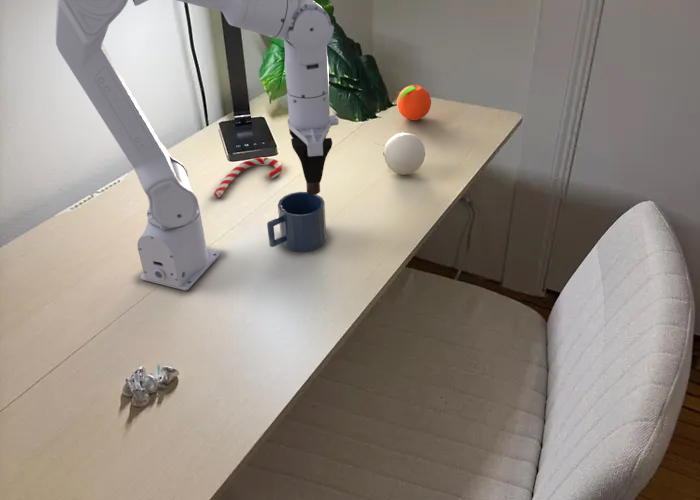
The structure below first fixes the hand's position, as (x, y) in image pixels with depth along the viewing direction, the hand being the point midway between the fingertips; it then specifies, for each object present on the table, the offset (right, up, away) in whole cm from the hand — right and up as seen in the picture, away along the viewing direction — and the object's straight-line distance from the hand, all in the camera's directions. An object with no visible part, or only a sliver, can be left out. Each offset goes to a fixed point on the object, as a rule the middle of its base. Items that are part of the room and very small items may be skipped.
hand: (312, 177), depth 100 cm
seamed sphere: (+14, +4, +23) cm, 27 cm away
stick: (0, -2, +1) cm, 2 cm away
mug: (-3, -10, +5) cm, 11 cm away
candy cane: (-13, +1, +20) cm, 24 cm away
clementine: (+18, +16, +40) cm, 47 cm away
